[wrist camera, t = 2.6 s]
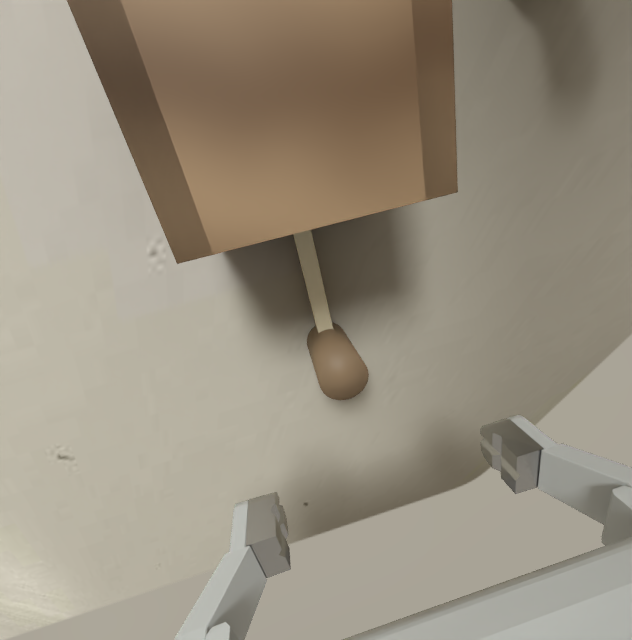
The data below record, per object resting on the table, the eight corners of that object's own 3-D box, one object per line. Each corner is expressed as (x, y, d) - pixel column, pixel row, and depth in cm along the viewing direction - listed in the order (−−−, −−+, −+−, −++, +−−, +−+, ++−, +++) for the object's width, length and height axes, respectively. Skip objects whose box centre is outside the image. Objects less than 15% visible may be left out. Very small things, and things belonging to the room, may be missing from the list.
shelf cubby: (144, 38, 14) (-5, -171, 6) (349, -4, 14) (444, -239, 7) (215, 237, 17) (177, 263, 10) (375, 197, 18) (457, 191, 10)
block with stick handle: (217, 96, 15) (196, 47, 10) (312, 75, 15) (334, 19, 11) (297, 366, 21) (306, 411, 17) (363, 347, 22) (390, 386, 17)
